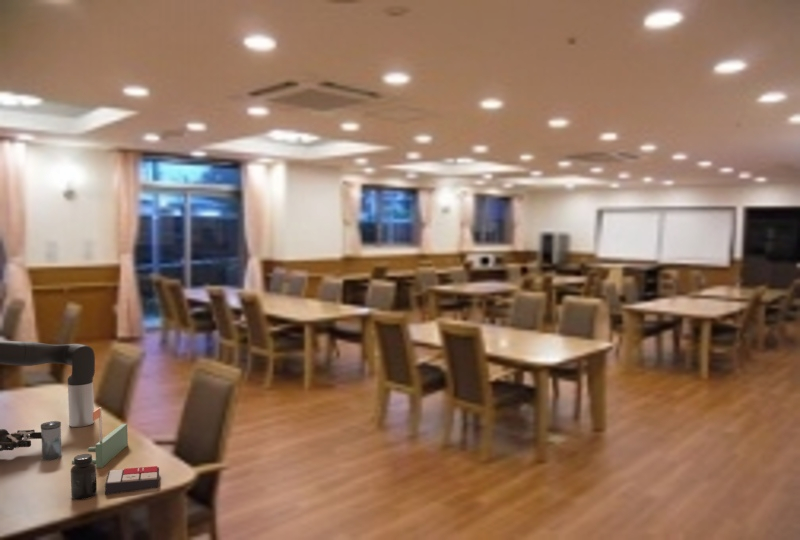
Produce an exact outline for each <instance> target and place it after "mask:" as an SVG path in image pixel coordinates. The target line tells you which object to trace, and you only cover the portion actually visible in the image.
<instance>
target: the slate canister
mask: <svg viewBox="0 0 800 540" xmlns="http://www.w3.org/2000/svg"><path fill="white" fill-rule="evenodd" d="M61 428H62V422H61V421H57V420H54V421H53V420H52V421H46V422H43V423H41V424H40V432H41V439H40V440H41V459H42V461H53V460H57V459H60V458H61V457H62V456H63V455H62V429H61Z"/></svg>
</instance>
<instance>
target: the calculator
mask: <svg viewBox="0 0 800 540" xmlns="http://www.w3.org/2000/svg"><path fill="white" fill-rule="evenodd" d="M159 476H160V467H158V466H157V465H155V466H153V465H152V466H144V467H143V466H141V467H131V468H130V467H128V468H124V469H115V470H114V469H111V470H109V471H108V472H107V476H106V481H105V484H104V485H105V486H104V487H105V488H104V490H105V491H104V495H105V496H107V495H114V494H121V493H126V492H136V491H145V490H150V489H152V490H153V489H158V488H159V483H160V481H159V480H160V479H159V478H160V477H159Z"/></svg>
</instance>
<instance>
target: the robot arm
mask: <svg viewBox="0 0 800 540" xmlns="http://www.w3.org/2000/svg"><path fill="white" fill-rule="evenodd" d="M95 356H96V355H95V352H94V349H93V348H92V347H91V346H89V345H87V344H81V343H68V344H49V343H43V342H37V341H35V342H34V341H23V340H22V341H21V340H20V341H19V340H14V341H13V340H11V341H10V340H9V341H6V340H4V341H1V340H0V364H1V365H8V366H23V367H24V366H26V367H28V366H39V365H44V364H60V365H61V364H62V365H68V366H71V375H70V376H68V378H67V395H68V396H67V397H68V398H67V399H68V400H67V401H68V423H69V425H68V426H69V427H71V428H81V427H86V426H87V427H88V426H90V425H93V424H94V423H95V421H93V412H94V411H95V405H94V403H95V402H94V401H95V400H94V377H95V373H96V372H95V370H96V369H95V367H96V362H95V361H96V357H95ZM37 439H38V440H39V439H40V440H42V439H41V431H39V432H38V431H37V432H36V430H35V429H21V430H17V431H16V432H11V433H9V431H8V430H7V429H5V428H0V452H3V451H14V450H15V449H19V448H29V447H31V446H32V441H31V440H37Z"/></svg>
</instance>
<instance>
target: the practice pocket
mask: <svg viewBox="0 0 800 540" xmlns="http://www.w3.org/2000/svg"><path fill="white" fill-rule="evenodd" d="M102 419H103V416H102V407H98V408H96V409H94V412H93V421H94V422H95V421H96V420H98V430H99V431H98V432H99V441H98V442H97V443H95V445H94V446H89V447H87V451H88V452H95V458H92V463H94V464H95V465H96V469H98V468H104V467H105V465H107V464H108V463H109V462H111V461H112V459H114V458H116V456H117V455H118V454H120V452H121V451H123V450H124V449H125V448H126V447H127V446H128V445H129V443H128V442H129V441H128V438H129V437H128V436H129V435H128V423H121V424H120V425H119V426H118V427H116V428H115V429H114V430H112V431H111V432H110V433H108V434H107V435H106V436H104V437H103V422H102V421H103V420H102ZM71 464H74V458H73V459H72V460H71Z"/></svg>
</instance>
